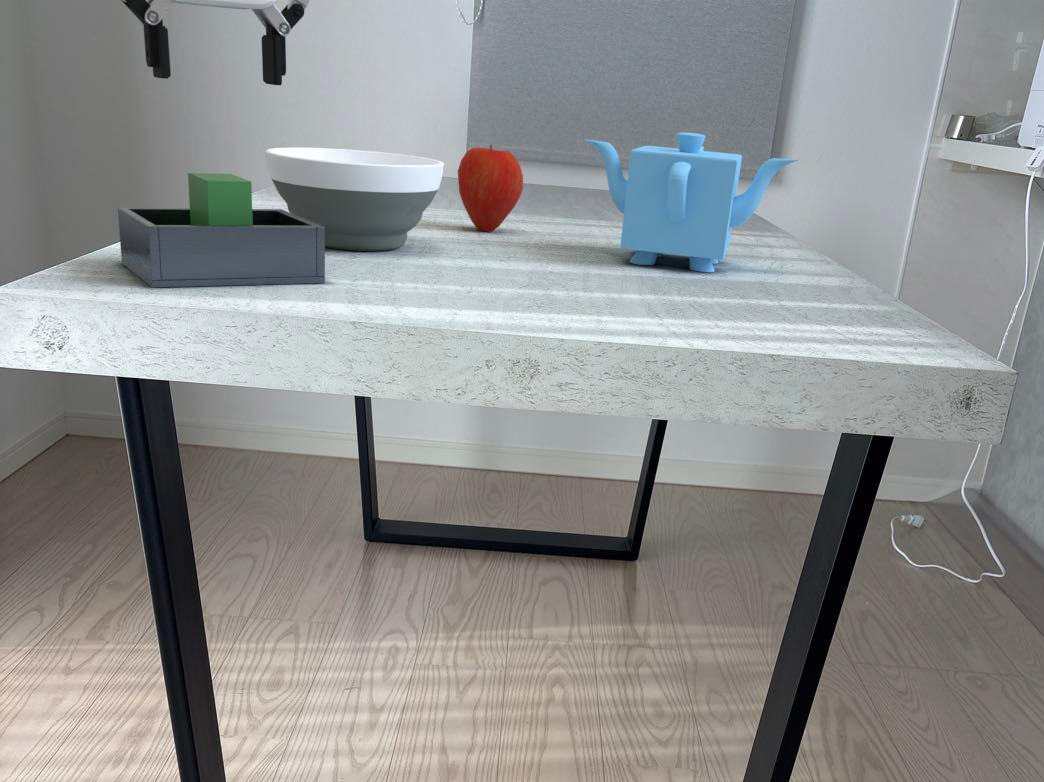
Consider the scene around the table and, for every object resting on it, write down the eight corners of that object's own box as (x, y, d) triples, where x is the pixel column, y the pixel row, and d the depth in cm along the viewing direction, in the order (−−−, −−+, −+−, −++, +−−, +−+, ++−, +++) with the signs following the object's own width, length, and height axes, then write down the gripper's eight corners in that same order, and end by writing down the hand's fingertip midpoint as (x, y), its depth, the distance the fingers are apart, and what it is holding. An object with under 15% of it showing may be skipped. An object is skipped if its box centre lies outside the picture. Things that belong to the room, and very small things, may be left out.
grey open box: (152, 287, 90) (148, 226, 88) (121, 263, 99) (117, 207, 97) (325, 283, 98) (325, 226, 96) (282, 261, 107) (281, 209, 105)
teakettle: (664, 278, 116) (682, 136, 111) (568, 249, 131) (579, 122, 125) (785, 274, 126) (808, 144, 121) (684, 248, 140) (700, 130, 135)
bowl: (447, 262, 114) (450, 170, 110) (260, 252, 111) (258, 156, 107) (434, 236, 132) (437, 155, 128) (273, 227, 128) (271, 143, 125)
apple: (530, 232, 142) (537, 147, 138) (497, 237, 135) (503, 148, 131) (477, 224, 146) (482, 141, 142) (442, 228, 139) (446, 141, 135)
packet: (254, 272, 97) (251, 181, 94) (210, 273, 95) (206, 180, 92) (234, 260, 102) (231, 173, 99) (192, 261, 100) (187, 172, 97)
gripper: (294, -127, 93) (298, 85, 99) (84, -162, 84) (105, 73, 91) (326, -137, 87) (328, 89, 94) (104, -175, 78) (124, 77, 85)
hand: (218, 81), depth 92 cm, fingers open, 9 cm apart
